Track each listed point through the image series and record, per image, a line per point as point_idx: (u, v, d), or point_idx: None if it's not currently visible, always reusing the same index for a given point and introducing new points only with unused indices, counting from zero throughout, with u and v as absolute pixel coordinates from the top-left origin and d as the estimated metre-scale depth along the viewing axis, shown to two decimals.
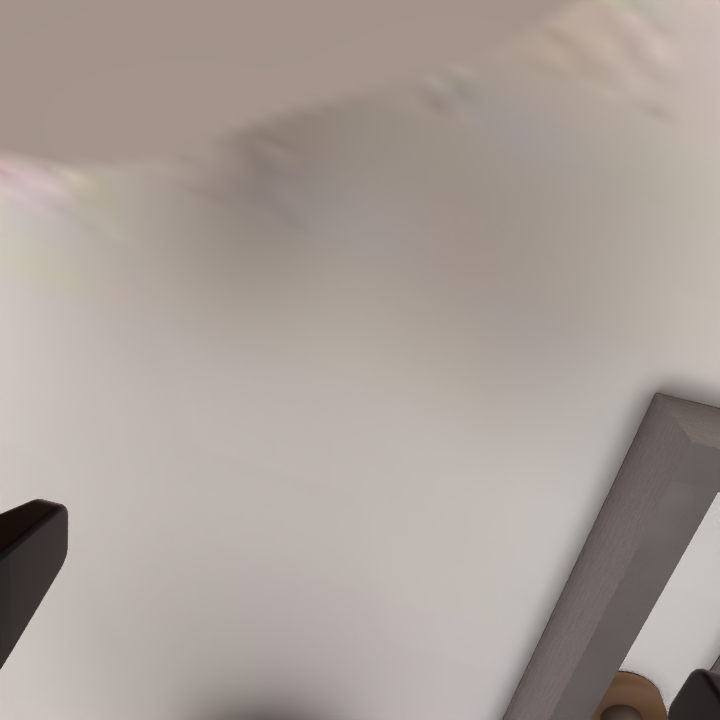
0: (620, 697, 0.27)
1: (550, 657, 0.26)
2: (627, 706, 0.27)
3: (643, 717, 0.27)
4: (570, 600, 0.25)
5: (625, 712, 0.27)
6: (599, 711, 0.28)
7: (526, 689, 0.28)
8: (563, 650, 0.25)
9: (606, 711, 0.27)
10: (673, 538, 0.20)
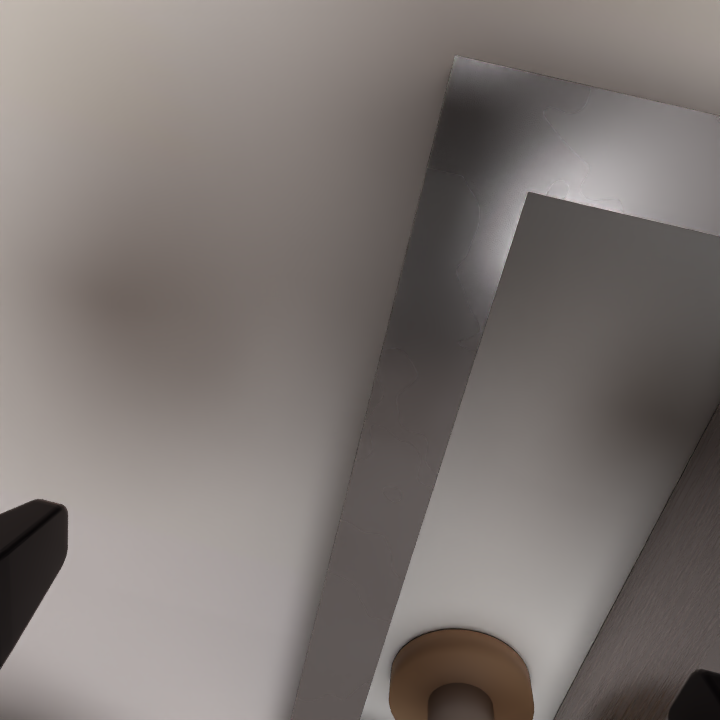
0: (454, 671, 0.16)
1: None
2: (466, 685, 0.16)
3: (495, 704, 0.17)
4: None
5: (461, 695, 0.16)
6: (425, 694, 0.17)
7: None
8: None
9: (434, 694, 0.17)
10: (451, 318, 0.10)
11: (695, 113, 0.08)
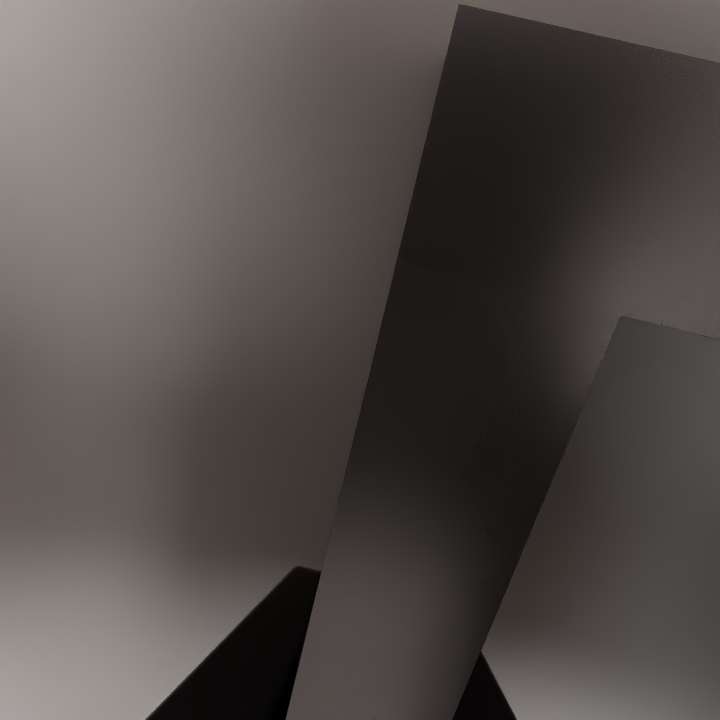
0: None
1: None
2: None
3: None
4: None
5: None
6: None
7: None
8: None
9: None
10: (448, 546, 0.05)
11: None
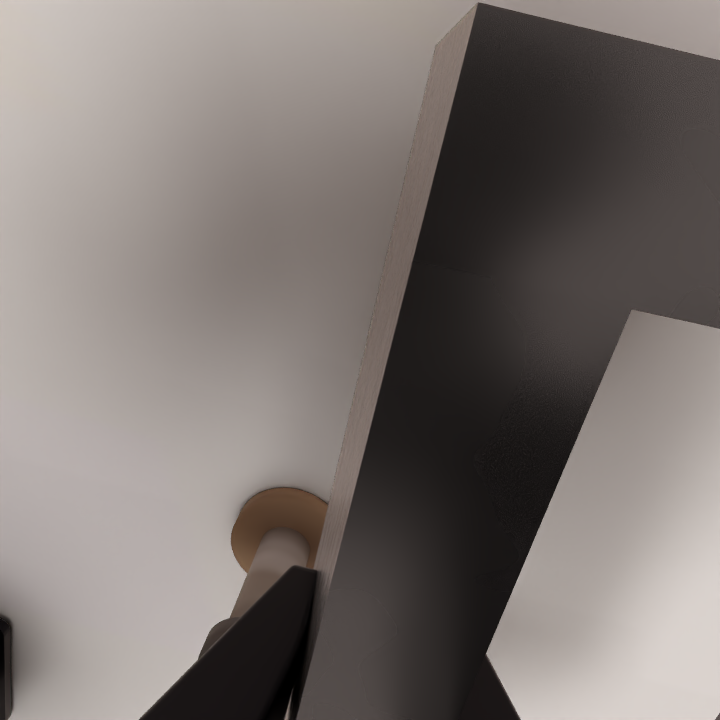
0: (277, 516, 0.21)
1: None
2: (286, 528, 0.21)
3: (311, 545, 0.21)
4: None
5: (281, 534, 0.21)
6: (258, 538, 0.22)
7: None
8: None
9: (263, 536, 0.21)
10: (461, 540, 0.05)
11: None
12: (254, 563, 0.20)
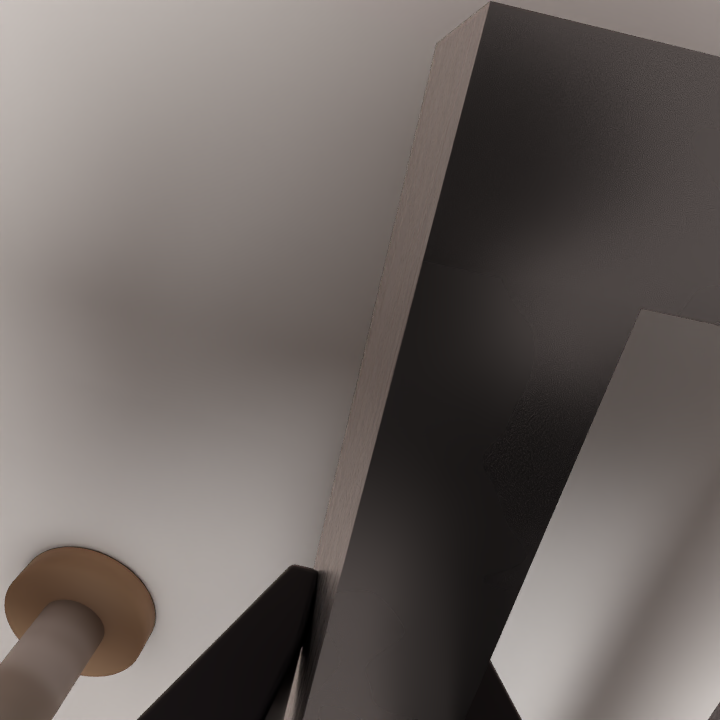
0: (56, 586, 0.16)
1: None
2: (68, 601, 0.16)
3: (104, 622, 0.17)
4: None
5: (58, 610, 0.16)
6: (37, 612, 0.17)
7: None
8: None
9: (41, 611, 0.16)
10: (468, 540, 0.05)
11: None
12: (8, 654, 0.15)
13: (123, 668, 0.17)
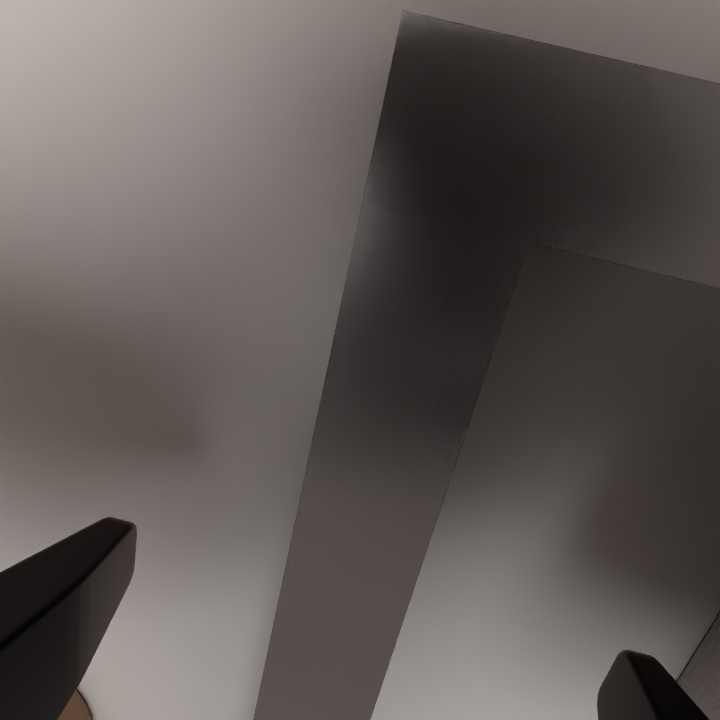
0: None
1: None
2: None
3: None
4: None
5: None
6: None
7: None
8: None
9: None
10: (407, 433, 0.06)
11: None
12: None
13: None
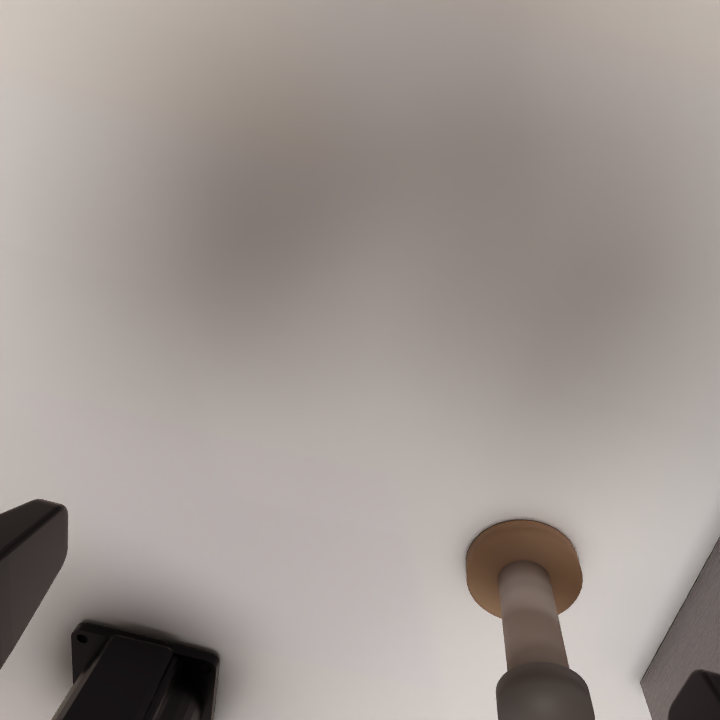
0: (519, 550, 0.21)
1: None
2: (529, 561, 0.21)
3: (552, 577, 0.21)
4: None
5: (525, 568, 0.21)
6: (496, 571, 0.21)
7: (696, 612, 0.21)
8: None
9: (503, 570, 0.21)
10: None
11: None
12: (510, 600, 0.20)
13: None
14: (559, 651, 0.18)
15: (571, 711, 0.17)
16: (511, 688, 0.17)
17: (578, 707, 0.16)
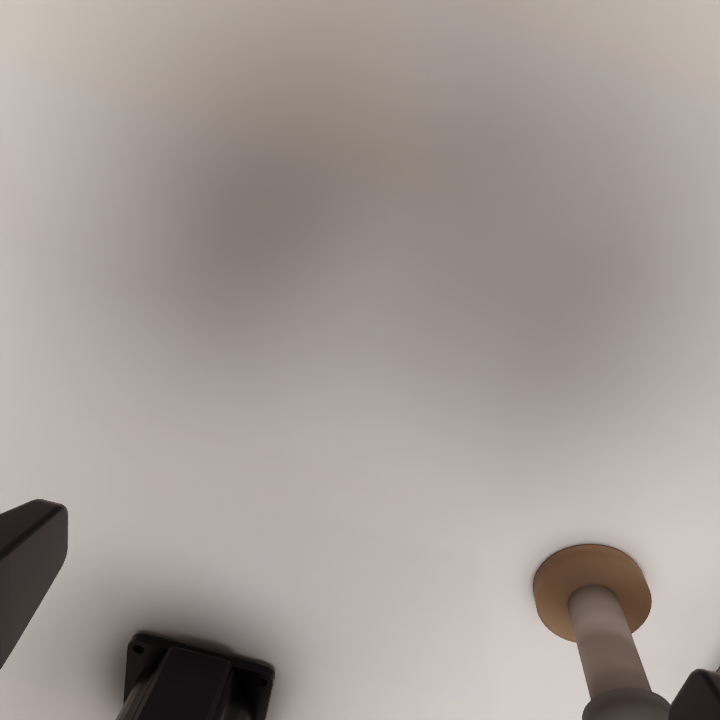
0: (591, 574, 0.21)
1: None
2: (600, 586, 0.21)
3: (621, 601, 0.22)
4: None
5: (598, 592, 0.21)
6: (566, 594, 0.22)
7: None
8: None
9: (574, 593, 0.22)
10: None
11: None
12: (587, 624, 0.20)
13: None
14: (643, 676, 0.18)
15: None
16: (603, 713, 0.17)
17: None
